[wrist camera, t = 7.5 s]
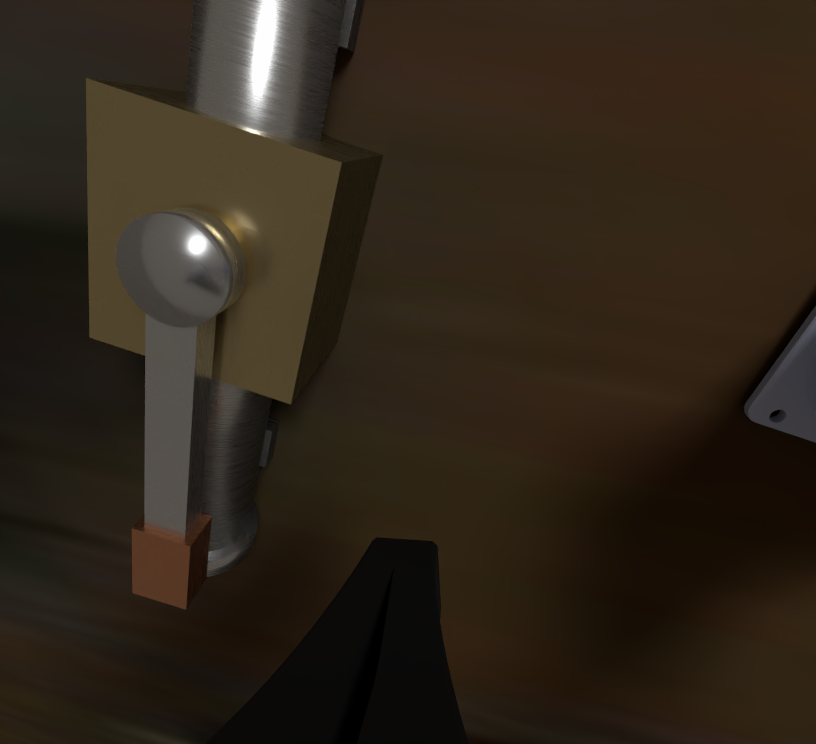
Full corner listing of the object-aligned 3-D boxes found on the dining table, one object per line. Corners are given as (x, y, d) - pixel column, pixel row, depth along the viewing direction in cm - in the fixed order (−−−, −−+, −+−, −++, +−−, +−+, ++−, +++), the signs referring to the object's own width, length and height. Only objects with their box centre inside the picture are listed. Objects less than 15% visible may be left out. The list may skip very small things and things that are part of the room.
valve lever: (149, 193, 13) (111, 199, 11) (253, 223, 13) (227, 233, 11) (146, 559, 19) (121, 589, 17) (216, 581, 19) (197, 613, 17)
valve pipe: (484, -260, 12) (481, -499, 7) (294, 515, 24) (248, 604, 19) (231, -342, 12) (76, -629, 7) (167, 473, 24) (92, 552, 19)
